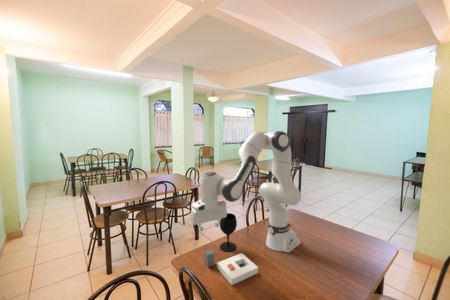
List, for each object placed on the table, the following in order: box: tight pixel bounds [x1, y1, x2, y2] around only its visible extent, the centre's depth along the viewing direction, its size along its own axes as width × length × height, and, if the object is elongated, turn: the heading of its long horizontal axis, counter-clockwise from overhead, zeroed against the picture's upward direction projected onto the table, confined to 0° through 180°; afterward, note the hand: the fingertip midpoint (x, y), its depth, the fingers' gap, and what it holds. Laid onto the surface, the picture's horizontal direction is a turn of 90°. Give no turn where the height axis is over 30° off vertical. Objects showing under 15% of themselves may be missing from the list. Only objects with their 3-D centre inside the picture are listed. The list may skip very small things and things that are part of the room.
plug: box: [203, 248, 215, 268], centre depth 112 cm, size 4×4×7 cm
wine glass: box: [219, 212, 238, 253], centre depth 127 cm, size 10×10×20 cm
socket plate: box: [216, 252, 259, 286], centre depth 107 cm, size 16×14×4 cm
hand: (209, 228), depth 110 cm, fingers open, 8 cm apart
